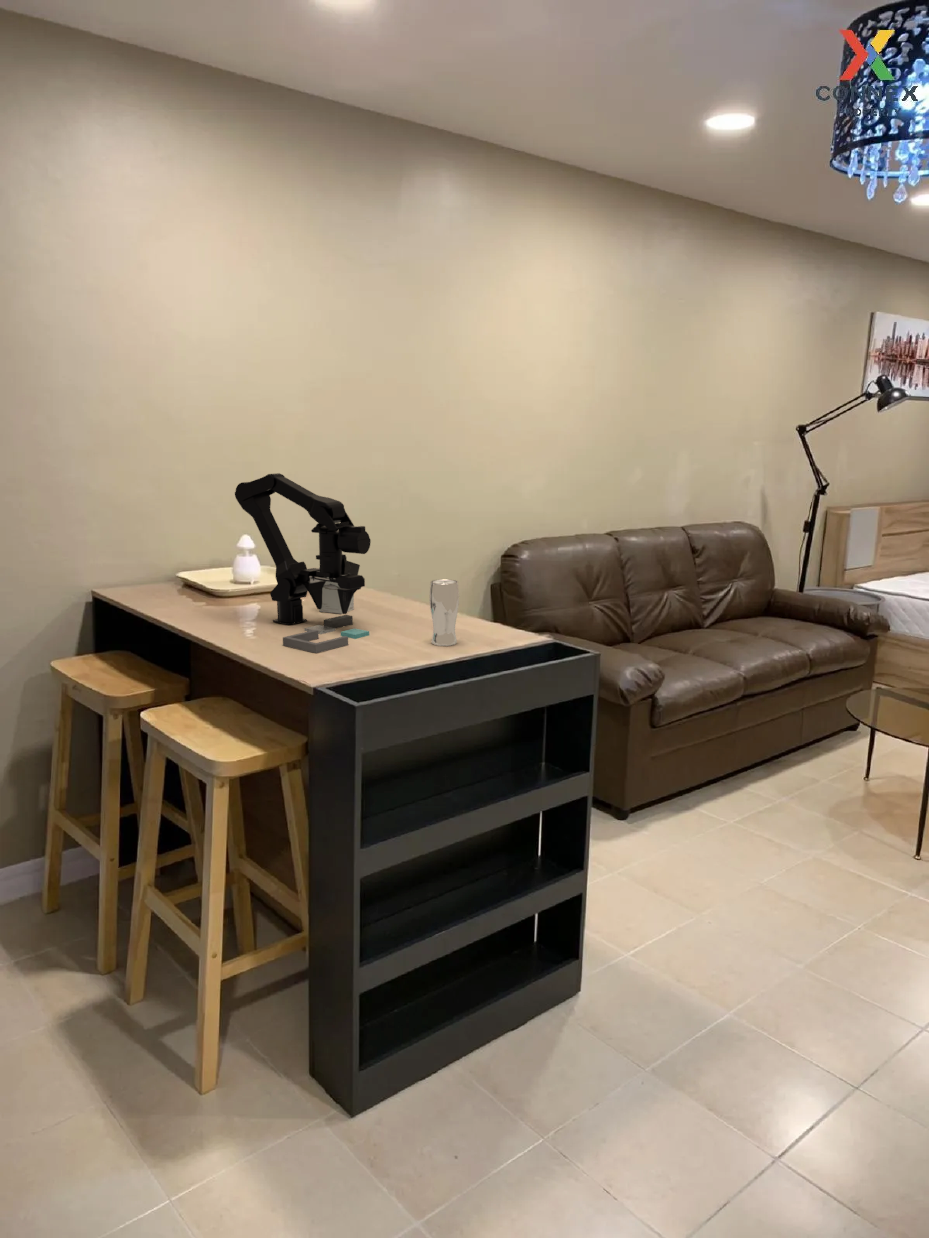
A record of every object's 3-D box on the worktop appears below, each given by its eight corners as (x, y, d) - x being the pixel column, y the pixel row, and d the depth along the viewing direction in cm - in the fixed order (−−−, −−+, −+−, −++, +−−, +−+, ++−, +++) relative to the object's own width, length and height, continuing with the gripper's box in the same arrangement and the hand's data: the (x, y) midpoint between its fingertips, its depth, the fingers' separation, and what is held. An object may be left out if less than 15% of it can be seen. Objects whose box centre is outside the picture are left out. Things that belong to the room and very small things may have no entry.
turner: (341, 622, 237) (341, 613, 237) (357, 625, 234) (357, 616, 233) (304, 631, 227) (304, 622, 227) (320, 634, 224) (320, 625, 223)
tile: (340, 637, 222) (340, 631, 222) (354, 634, 226) (354, 628, 226) (355, 640, 219) (355, 634, 219) (369, 637, 223) (369, 631, 223)
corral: (283, 645, 212) (282, 637, 212) (315, 637, 220) (314, 629, 220) (316, 653, 205) (316, 644, 205) (348, 644, 213) (348, 636, 213)
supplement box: (318, 612, 250) (317, 567, 247) (332, 607, 256) (331, 563, 254) (341, 614, 247) (340, 569, 244) (355, 609, 254) (354, 565, 251)
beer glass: (429, 639, 219) (428, 579, 216) (457, 639, 219) (457, 578, 216) (430, 646, 212) (430, 584, 209) (459, 646, 213) (460, 584, 209)
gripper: (379, 551, 227) (380, 611, 231) (328, 544, 239) (329, 602, 242) (348, 556, 219) (349, 618, 222) (296, 548, 230) (298, 608, 233)
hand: (332, 611), depth 230 cm, fingers open, 9 cm apart
